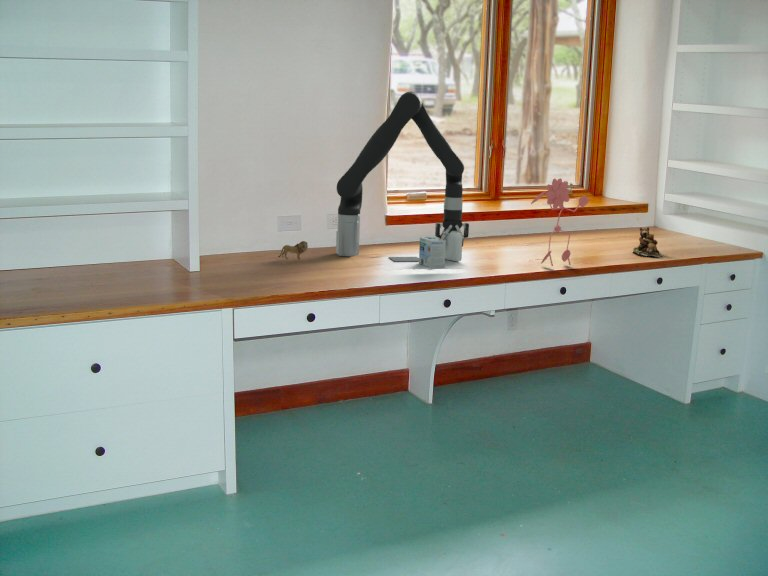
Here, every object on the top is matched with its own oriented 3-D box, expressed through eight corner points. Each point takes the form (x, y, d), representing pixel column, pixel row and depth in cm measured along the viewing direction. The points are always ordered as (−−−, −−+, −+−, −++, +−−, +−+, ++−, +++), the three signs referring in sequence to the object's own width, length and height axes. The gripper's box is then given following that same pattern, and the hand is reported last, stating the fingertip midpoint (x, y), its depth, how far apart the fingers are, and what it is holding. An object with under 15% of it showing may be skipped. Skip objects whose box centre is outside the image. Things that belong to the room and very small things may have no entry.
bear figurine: (632, 256, 399) (634, 229, 397) (631, 251, 413) (633, 225, 411) (664, 258, 396) (666, 231, 394) (662, 253, 410) (664, 227, 408)
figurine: (587, 264, 372) (594, 179, 365) (537, 267, 360) (543, 180, 353) (564, 258, 385) (570, 176, 378) (514, 261, 373) (520, 176, 366)
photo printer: (438, 258, 375) (439, 229, 372) (445, 257, 377) (447, 228, 375) (455, 262, 367) (456, 232, 365) (463, 261, 370) (464, 231, 367)
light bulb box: (418, 263, 361) (419, 236, 359) (433, 262, 364) (434, 236, 362) (429, 268, 352) (431, 240, 349) (445, 267, 354) (446, 240, 352)
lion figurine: (307, 258, 365) (308, 240, 363) (307, 260, 360) (307, 241, 359) (278, 257, 364) (278, 239, 363) (277, 259, 360) (277, 241, 358)
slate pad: (394, 261, 362) (394, 261, 362) (388, 257, 372) (388, 256, 372) (423, 261, 365) (423, 260, 365) (416, 257, 375) (416, 256, 375)
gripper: (439, 209, 363) (437, 249, 366) (472, 209, 366) (470, 249, 369) (433, 207, 370) (431, 246, 373) (466, 207, 373) (464, 246, 377)
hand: (451, 247), depth 371 cm, fingers open, 7 cm apart
